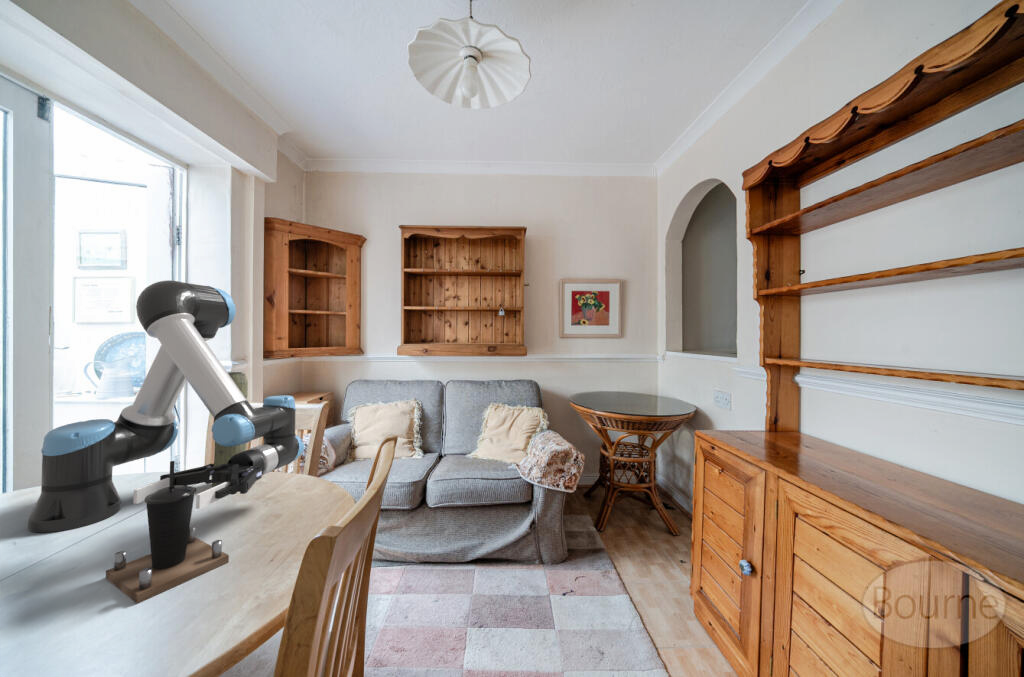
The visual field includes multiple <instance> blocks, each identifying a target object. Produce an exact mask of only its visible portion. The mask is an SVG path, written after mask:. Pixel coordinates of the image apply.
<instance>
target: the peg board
mask: <svg viewBox="0 0 1024 677" xmlns="http://www.w3.org/2000/svg"><path fill="white" fill-rule="evenodd" d="M127 553H128V552H127V550H120V551H117V552H116V553H114V558H113V559H114V564H113V567H112V568H108V569H106V570H105V579H106V580H107V581H109V582H110V583H111V584H112V585H113V586H115V587H116V588H117V589H118V590H120V591H121V592H122V593H123V594H125V595H126V596H127V597H128V598H130V600H132V602H135V603H136V604H137V605H138V604H140V603H142V602H145V601H146V600H147V601H148V599H150V598H153V597H155V596H158V595H160V594H162V593H163V592H166V591H168V590H170V589H173V588H176V587H177V586H180V585H182V584H184V583H187V582H188V581H191V580H193V579H195V578H197V577H199V576H202V575H204V574H206V573H208V572H210V571H213V570H215V569H217V568H219V567H222V566H223V565H226V564H228V563H229V559H230V555H229V554H228V553H226V552H224V551H223V539H216V540H214V541H212V542H211V545H210V544H208V543H207V542H205V541H203V540H201V539H199V538H198V537H196V526H194V525H193V526H190V528H189V535H188V542H187V549H186V556H185V559H184V561H183V562H181V563H180V564H178V565H176V566H173V567H170V568H167V569H161V570H156V569H153V568H152V558H151V553H148V554H147V555H146V554H145V555H143V556H141V557H139V558H135V559H133V560H130V561H127Z"/></svg>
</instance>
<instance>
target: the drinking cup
mask: <svg viewBox="0 0 1024 677" xmlns="http://www.w3.org/2000/svg"><path fill="white" fill-rule="evenodd" d="M175 465H176V463H175V460H171V461H170V462H169V474H170V480H169V487H166V488H163V489H160V490H158V491H156V492H154V493H152V494H150V495H148V496H146V497H145V499H144V501H143V502H144V503H145V504H146V512H147V521H148V522H147V523H148V534H149V546H150V554H151V558H152V568H153V569H156V570H161V569H167V568H170V567H173V566H176V565H178V564H180V563H181V562H183V561H184V559H185V556H186V549H187V542H188V535H189V528H190V527H191V521H192V512H193V506H194V500H195V499H194V498H195V494H196V493H197V487H195V486H192V485H188V486H184V485H176V486H174V473H175Z"/></svg>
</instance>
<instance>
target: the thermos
mask: <svg viewBox="0 0 1024 677" xmlns="http://www.w3.org/2000/svg"><path fill="white" fill-rule="evenodd" d="M227 373H228V374H229V375H230V377H231V378H232V380H233V381H234V382H235V384H236V385H237V387H238V388H239V390H240V391H241V392H242V394H243V395H244V397H245V398H246V399H248V392H249V391H248V388H249V387H248V384H249V382H248V378H247V376H246V373H243V372H239V371H233V372H229V371H227ZM215 421H216V420H215V419H214V418H213V423H214V422H215ZM246 450H247V443H245V444H240V445H236V446H231V447H224V446H221V445H219V444H218V443H216V442H215V441H214V454H213V455H214V458H213V459H214V460H213V461H214V462H213V464H214V466H219V465H221V464H226V463H227V462H228V461H229V459H230V458H231V457H232V456H233V455H235V454H238V453H240V452H243V451H246ZM210 477H211V478H210V480H211V479H213V475H211V476H210ZM222 483H224V482H215V483H211V488H213V487H215V486H217V485H220V484H222ZM229 485H230V481H229Z"/></svg>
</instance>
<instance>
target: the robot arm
mask: <svg viewBox="0 0 1024 677" xmlns="http://www.w3.org/2000/svg"><path fill="white" fill-rule="evenodd" d="M135 308H136V314H137V318H138V320H139V323H140V324H141V327H142V328H143V330H144V331H145V332H146V333H147V335H148V336H149V337H151V338H154V339H155V338H156V339H157V340H158V341H159V342H160V344H161V345H160V347H159V349H158V351H157V353H156V355H155V358H154V360H153V361H152V364H151V366H150V368H149V369H148V371H147V374H146V376H145V378H144V380H143V383H142V384H141V387H140V389H139V391H138V393H137V395H136V397H135V399H134V401H133V403H132V404H131V405H128V406H126V407H124V408H122V409H121V412H120V414H119V416H118V418H117V420H116V421H114V420H112V419H109V418H108V419H107V418H100V419H96V418H95V419H89V420H84V421H82V420H81V421H77V422H71V423H68V424H64V425H61V426H58V427H56V428H54V429H52V430H50V431H48V432H47V433H46V435H45V436H44V437H43V441H42V442H43V444H42V448H41V449H40V450H41V451H40V452H41V455H42V456H41V458H42V459H41V461H42V462H41V483H40V484H41V487H40V495H39V498H38V499H37V501H36V503H35V505H34V507H33V509H32V511H31V513H30V515H29V517H28V521H27V529H28V531H29V530H30V531H29V532H32V533H52V532H60V531H65V530H66V531H67V530H71V529H76V528H80V527H84V526H87V525H92V524H94V523H95V524H96V523H97V522H100V521H103V520H105V519H108V518H109V517H112V516H114V515H116V514H117V513H118V512H119V511H120V510H121V509H122V507H121V506H122V505H121V504H122V501H121V500H122V499H121V497H120V495H119V492H118V491H117V488H116V486H115V484H114V482H113V468H114V467H115V466H119V465H124V464H126V463H130V462H134V461H138V460H141V459H144V458H150V457H153V456H155V455H157V454H160V453H162V452H164V451H166V450H168V449H169V448H170V447H171V446H172V445H173V444H174V443H175V441H176V440H177V437H178V434H179V428H177V427H178V423H177V421H176V415H175V413H173V409H174V407H175V406H176V403H177V401H178V398H179V397H180V396H181V395H180V394H181V392H182V391H183V388H184V386H185V384H186V382H188V384H189V385H190V386H191V388H192V389H193V390H194V392H195V393H196V395H197V396H198V398H199V399H200V401H201V402H202V403H203V405H204V406H205V407H206V409H207V410H208V412H209V413H210V415H211V416H212V417H213V420H214V419H215V420H216V421H215V422H214V421H213V424H212V427H211V432H212V436H211V437H212V439H213V441H214V443H215V442H216V443H218V444H219V445H221V446H224V447H231V446H236V445H240V444H245V443H246V444H247V443H249V442H251V441H254V440H258V439H259V438H263V443H262V444H260V445H257V446H254V447H251V448H249V449H246V451H243V452H240V453H238V454H235V455H233V456H232V457H231V458H230V459H229V461H228V462H227V463H226V464H221V465H219V466H214V463H208V464H206V465H202V466H198V467H194V468H189V469H185V470H181V471H177V472H176V471H174V486H176V485H184V486H192V485H193V486H194V485H198V484H204V483H205V484H206V485H210V484H212V483H215V482H224V483H222V484H220V485H217V486H215V487H213V488H212V487H211V488H209V489H206V490H204V491H201V492H199V493H197V494H196V497H195V498H196V499H195V502H196V503H195V509H198V510H200V509H202V508H205V507H206V506H208V505H210V504H213V503H214V502H218V501H219V500H220V499H223V498H225V497H227V496H229V495H236V494H237V493H239V494H240V495H241V494H242V495H244V494H247V493H248V492H249V491H250V489H251V488H253V486H254V484H255V483H256V482H257V481H258V480H261V479H262V477H263V476H264V475H267V474H268V473H270V472H273V471H275V470H278V469H280V468H282V467H284V466H287V465H289V464H291V463H293V462H294V461H296V460H299V458H300V457H301V456H302V455H303V452H304V449H305V447H304V446H305V444H304V443H303V440H302V437H299V435H296V411H297V408H296V402H295V398H294V396H293V395H288V394H287V395H286V394H285V395H284V394H283V395H272V396H267V397H264V399H263V404H262V406H260V407H256V408H253V406H252V405H251V403H250V402H249V401H248V398H245V397H244V395H243V394H242V392H241V391H240V390H239V388H238V387H237V385H236V384H235V382H234V381H233V380H232V378H231V377H230V375H229V374H228V371H227V370H226V368H225V367H224V365H223V364H222V363H221V362H220V360H219V359H218V358H217V356H216V354H215V353H214V352H213V350H212V349H211V347H210V346H209V345H208V343H207V341H209V340H212V339H214V338H215V336H216V335H217V333H218V331H219V329H222V328H225V327H227V326H229V325H231V324H232V323H233V321H234V320H235V316H236V310H237V309H236V304H235V303H234V299H233V298H232V296H230V294H229V293H228V292H226V291H225V290H223V289H220V288H217V287H213V286H210V285H202V284H195V283H191V282H190V283H188V282H183V281H178V280H160V281H156V282H154V283H151V284H150V285H148V286H147V287H145V288H144V289H143V290H142V291H141V293H140V294H139V295H138V297H137V301H136V306H135ZM212 475H213V479H211V478H210V477H211V476H212ZM169 480H170V473H167V474H162V475H160V476H159V480H158V481H155V482H153V483H150V484H147V485H144V486H141V487H139V488H136V489H133V504H134V505H135V504H136V505H138V504H140V503H143V502H145V501H144V499H145V497H146V496H148V495H150V494H152V493H154V492H156V491H158V490H160V489H163V488H166V487H169ZM229 481H230V485H229Z"/></svg>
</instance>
